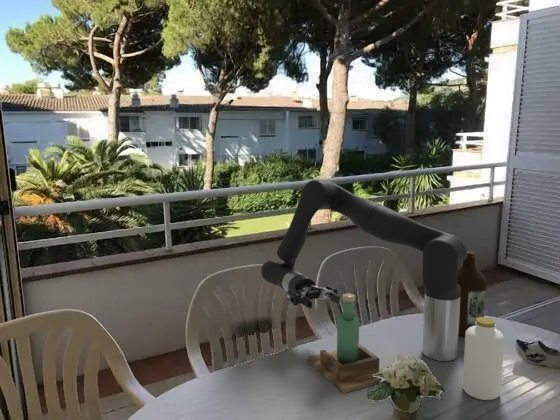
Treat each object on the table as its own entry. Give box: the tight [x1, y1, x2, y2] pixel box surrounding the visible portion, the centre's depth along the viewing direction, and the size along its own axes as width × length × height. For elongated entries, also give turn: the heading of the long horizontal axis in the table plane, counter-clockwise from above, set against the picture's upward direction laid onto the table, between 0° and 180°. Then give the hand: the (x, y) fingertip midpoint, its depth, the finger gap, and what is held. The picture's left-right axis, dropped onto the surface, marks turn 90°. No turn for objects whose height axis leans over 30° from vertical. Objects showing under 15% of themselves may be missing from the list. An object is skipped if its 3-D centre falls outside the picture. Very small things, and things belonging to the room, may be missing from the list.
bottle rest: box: [307, 343, 384, 394], centre depth 122 cm, size 18×14×4 cm
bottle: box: [336, 292, 360, 365], centre depth 121 cm, size 6×6×19 cm
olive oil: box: [457, 250, 488, 338], centre depth 143 cm, size 11×11×25 cm
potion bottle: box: [462, 316, 505, 401], centre depth 110 cm, size 8×8×18 cm
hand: (324, 302), depth 130 cm, fingers open, 8 cm apart
